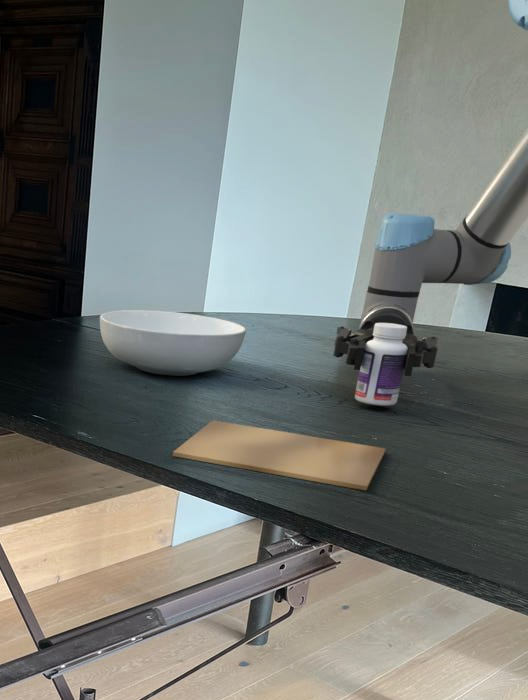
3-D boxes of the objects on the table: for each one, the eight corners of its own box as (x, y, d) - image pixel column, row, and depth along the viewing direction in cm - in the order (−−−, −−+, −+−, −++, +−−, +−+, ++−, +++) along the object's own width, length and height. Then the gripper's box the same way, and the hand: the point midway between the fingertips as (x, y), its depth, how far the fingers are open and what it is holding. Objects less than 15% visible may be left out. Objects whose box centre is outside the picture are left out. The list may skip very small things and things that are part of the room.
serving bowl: (267, 384, 140) (275, 334, 136) (134, 387, 132) (139, 334, 129) (194, 354, 157) (200, 308, 153) (73, 355, 149) (76, 308, 146)
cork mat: (385, 452, 111) (386, 448, 111) (366, 491, 98) (367, 486, 97) (211, 424, 117) (212, 419, 117) (172, 456, 104) (173, 451, 104)
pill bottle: (401, 402, 131) (418, 325, 126) (390, 408, 127) (407, 330, 122) (360, 394, 133) (375, 320, 129) (348, 401, 129) (363, 324, 125)
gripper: (446, 368, 142) (455, 401, 122) (315, 353, 147) (303, 383, 127) (459, 314, 139) (470, 339, 119) (325, 300, 143) (314, 322, 123)
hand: (384, 361), depth 123 cm, fingers closed on pill bottle, 5 cm apart
